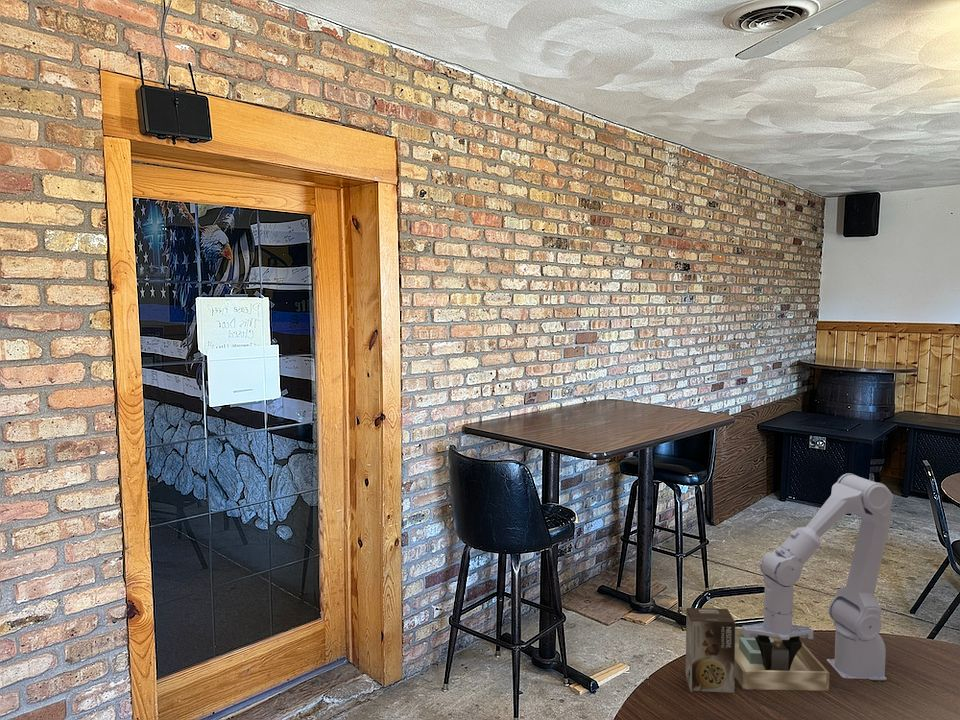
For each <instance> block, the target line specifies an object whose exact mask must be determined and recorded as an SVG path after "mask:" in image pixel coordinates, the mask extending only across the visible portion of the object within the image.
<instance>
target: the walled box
mask: <svg viewBox="0 0 960 720" xmlns="http://www.w3.org/2000/svg"><path fill="white" fill-rule="evenodd" d="M742 631H743V626H741V627H740V626H735V679H736V681H737V682H738V684H739V685H740V687H741V689H742V690H756V691H757V690H759V691H761V690H764V691H765V690H766V691H769V690H771V691H778V690H779V691H813V692H814V691H819V692H821V691H824V692H829V691H830V672H829V670H827V668H826V667H825V666H824V665H823V664H822V662H821V661H820V660H818V658H817V657H816V656H815V655H814V653H812V652H811V650H809V648H808V646H806V644H804V643H803V642H802V641H801V639H800V641H801V642H802V647H801V648H800V650H799V651H798V652H797V654H796V655H795V657H794V659H793V662H792V664H791V668H790V671H776V670H765V668H764V666H763V664H750V663H749V661H748V660H747V658H746V657H745V656H744V654H743V653H742V651H741V650H740V648H739V637H744V635H743V634H742ZM751 638H755V637H751ZM769 638H771V639H772V640H773V641H774V640H778V641H780V642H782V640H781V639H779V638H776V637H769ZM754 651H760V650H754Z"/></svg>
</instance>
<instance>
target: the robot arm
mask: <svg viewBox="0 0 960 720" xmlns="http://www.w3.org/2000/svg"><path fill="white" fill-rule="evenodd" d="M893 500H894V494H893V493H892V492H891V491H890V489H889V488H888V487H887V485H886V484H884V483H881V482H876V481H873V480H871V479H867V478H864V477H860V476H859V475H856V474H854V473H849V472H847V473H845V474H843V475H841V476H840V477H838V479H837V481H836V482H835V483H834V484H833V485H832V487H831V494H830V496H829V497H828V498H827V499H826V500H825V502H824V503H823V505H821V507H820V508H819V509H818V511H816V514H815V515H814V516H813V517H812V519H810V521H809V522H808V523H807V525H806V526H801V527H800V526H799V527H796V528H795V529H793V530H792V531H791V532H789V536H787V538H786V539H785V540H784V541H783V542H782V543H781V544H780V545H779V546H778V547H777V548H776V549H775V551H771V552H768V553H766V554H765V555H763V557H762V559H761V562H760V563H759V564H758V566H759V570H760V573H762V574H763V581H764V596H763V602H764V603H763V622H760V623H755V624H749V625H742V627H743V631H742V634H743V635H744V637H745V638H750V637H755V639H756V641H757V644H758V646H759V649H760V652H761V655H762V660H763V666H764V668H765V669H766V670H770V667H771V653H772V648H773V645H772V643H771V642H770V639H769V637H776V638H779V639H781V640H782V643H783V644H784V645H785V646H786V648H787V649H788V650H789V665H788V671H790V668H791V664H792V662H793V659H794V657H795V655H796V654H797V652H798V651H799V650H800V648H801V647H802V643H803V642H802V641H800V640H801V638H803V639H805V638H807V639H808V640H813V639H814V630H813V629H812V628H811V627H810V626H807V625H806V626H804V625H797V624H793V619H794V618H793V615H794V587H795V586H794V585H795V584H796V583H797V582H799V580H800V578H801V575H802V570H803V569H804V565H805V563H806V562H807V561H808V560H809V559H810V558H811V557H812V556H813V555H814V554H815V553H816V552H817V550H819V548H820V547H821V541H820V540H821V538H822V536H823V535H824V534H826V533H827V532H828V531H829V530H830V529H831V528H832V527H833V526H835V524H836V523H838V522H839V521H840V520H841V519H842V518H844V516H845V515H847V514H848V515H849V514H855V515H856V514H858V516H859V517H860V520H861V521H860V524H859V528H858V533H857V537H856V542H855V545H854V551H853V555H852V559H851V563H850V568H849V572H848V576H847V581H846V585H845V586H843V587H840V588H838V589H836V591H835V595H834V598H833V599H832V600H831V602H830V603H829V606H828V615H829V617H830V619H831V620H832V621H833V626H834V627H835V637H834V638H835V639H834V640H835V642H834V658H827V659H826V661H827V662H828V663H829V664H830V666H832V668H833V669H834V670H835V671H836V672H837V673H838V674H839V675H840V677H841V678H844V679H862V680H863V679H864V680H865V679H866V680H867V679H869V681H887V677H886V674H885V672H886V654H887V653H886V651H887V650H886V645H885V642H884V639H883V638H882V636H881V635H880V633H881V630H882V625H883V624H882V619H881V614H882V607H881V605H880V604H879V602H878V600H877V598H876V596H875V590H876V588H877V587H876V586H877V583H878V580H879V579H878V578H879V574H880V570H881V567H882V561H883V556H884V552H885V548H886V544H887V540H888V536H889V531H890V526H891V521H892V519H893V517H892V510H891V508H892V505H893V504H892V503H893Z"/></svg>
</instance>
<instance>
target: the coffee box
mask: <svg viewBox="0 0 960 720" xmlns="http://www.w3.org/2000/svg"><path fill="white" fill-rule="evenodd" d="M685 611H686V615H685V616H686V620H685V621H686V622H685V678H686V682H687V684H688V688H689V690H690V693H692V694H693V693H694V692H693V691H695V692H710V693H711V692H712V693H730V694H732V693H733V694H734V693H735V684H736V683H735V679H736V678H735V627H736V621H735V619H734V617H733V616H732V614H731V612H730V611H729V609H728V608H712V607H711V608H706V607H705V608H704V607H686V610H685Z"/></svg>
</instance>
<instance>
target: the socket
mask: <svg viewBox="0 0 960 720" xmlns="http://www.w3.org/2000/svg"><path fill="white" fill-rule="evenodd" d="M769 639H770V642H774V641H773V640H772V639H771V638H769ZM739 648H740V650H741V651H742V653H743V654H744V656H745V657H746V658H747V660H748V661H749V663H750V664H763V660H762V655H761V652H760V651H754V650H760V649H759V646H758V644H757V641H756V639H755V638H751V637H750V638H745V637H739Z"/></svg>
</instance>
